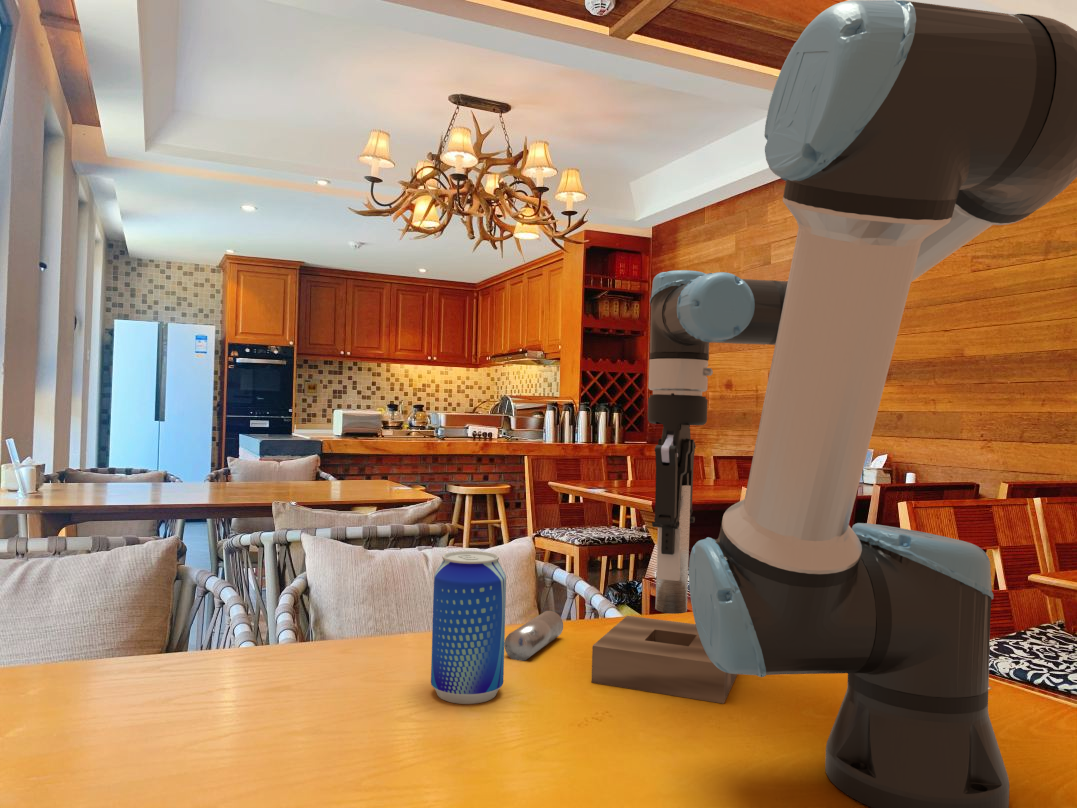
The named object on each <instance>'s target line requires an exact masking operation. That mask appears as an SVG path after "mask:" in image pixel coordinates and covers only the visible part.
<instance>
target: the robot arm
mask: <svg viewBox="0 0 1077 808" xmlns="http://www.w3.org/2000/svg"><path fill="white" fill-rule="evenodd" d="M763 135H764V138H765V140H766V143H765V146H764V154H765V160H766V162H767V165H768V167H769V169H770V170H771V172H772V173H773V174H775V176H777V177H779V178H781V180H783V181H785V185H784V190H783V197H782V203H784V205H785V206H786V208H787V209H788V210H789V212H790V213H791V215H792V216H793V217H794V219H795V220H796V224H797V227H798V228H797V234H796V238H795V239H796V240H795V245H794V249H793V254H792V259H791V264H790V269H789V274H788V279H787V280H770V279H769V280H768V279H767V280H765V279H749V278H741V277H739V276H737V275H736V274H734V273H731V272H730V273H729V272H723V271H721V272H720V271H718V272H713V273H712V272H709V273H705V272H702V271H698V270H689V269H687V270H686V269H685V270H684V269H682V270H680V269H679V270H677V269H676V270H675V269H674V270H669V271H661V272H659V273H658V274H656V275H655V276H654V277H653V280H652V285H651V286H652V287H651V296H650V297H649V304H650V305H649V306H650V329H649V331H650V332H649V333H650V334H649V335H650V336H649V338H650V339H649V360H648V362H649V363H648V364H649V365H648V385H647V389H649V390H650V391H652V394H650V395H649V397H648V398H647V399H648V401H647V403H648V404H647V421H648V422H649V424H654V425H655V424H657V425H663V426H662V427H663V428H662V433H661V434H662V435H661V438H658V441H657V444H656V445H655V447H654V453H655V454H654V455H655V493H654V494H655V501H654V521H652V522H651V526H652V527H653V528H658V527H659V535H658V534H657V540H658V568H657V567H656V573H657V579H665V580H674V581H679V580H680V553H681V528H679V526H680V522H679V518H680V504H681V490H682V484H685V485H690V486H691V493H690V523H695V520H696V516H694V515H693V516H692V514H693V489H694V488H693V486H694V464H695V463H694V461H695V451H696V450H695V449H696V448H697V446H696V443H695V439H692V438H691V428H690V427H691V426H704V425H706V424H707V422H708V401H709V400H708V399H707V396H704V395H703V393H705V392H707V391H708V386H709V385H708V383H709V382H708V381H709V378H708V377H709V376H712V375H713V373H714V371H713V369H712V368H711V367H709V360H710V353H709V352H710V344H712V343H713V344H718V343H719V344H739V345H766V346H767V345H770V346H771V345H772V346H774V350H773V355H772V359H771V364H770V368H769V369H770V370H769V375H768V378H767V384H766V390H765V394H764V401H763V406H762V410H761V415H760V420H759V425H758V431H757V435H756V441H755V444H754V450H753V456H752V460H751V465H750V470H749V476H748V480H747V486H746V491H745V497H744V499H742V500H739V501H738V502H736V503H734V504H732V505H731V506H729V507H728V508H727V509H726V510H725V512H724V513H723V516H722V520H721V525H720V531H719V534H718V538H716V539H715V538H712V537H709V536H708V537H706V538H704V539H700V540H698V541H696V543H695V544H694V545H693V547H692V548H691V552H690V555H689V559H688V586H689V596H690V604H691V609H692V613H693V614H692V615H693V619H694V624H696V628H697V631H698V634H699V637H700V640H701V643H702V646H703V648H704V650H705V652H706V654H707V656H708V657H709V659H710V660H711V662H712V663H713V664H714V665H715V666H716V667H717V668H718V669H720V670H721V671H724V672H726V673H730V674H737V675H746V676H757V677H759V678H765V677H766V676H771V675H774V676H775V675H778V676H779V675H810V674H811V675H815V674H817V675H819V674H820V675H821V674H823V675H825V674H826V675H829V674H830V675H831V674H832V675H833V674H847V687H846V691H845V694H844V696H843V699H842V701H841V705H840V707H839V709H838V713H837V715H836V718H835V721H834V723H833V725H832V727H831V730H830V733H829V736H828V739H827V741H826V746H825V766H824V767H825V773H826V775H827V778H828V779H829V780H830V782H831V783H832V785H834V786H835V787H836V788H838V790H840V791H842V793H844V794H845V795H846V796H849V797H850V798H852V799H853V800H855V801H857V802H859V803H861V804H864V805H866V806H867V807H870V808H1009V806H1010V780H1009V775H1008V772H1007V768H1006V766H1005V763H1004V760H1003V756H1002V753H1001V750H1000V747H999V743H998V741H997V738H996V733H995V732H994V728H993V724H992V722H991V719H990V718H991V717H990V715H989V688H990V687H989V684H990V682H989V681H990V678H989V677H990V644H991V643H990V641H991V638H990V637H991V612H992V611H991V610H992V600H994V593H993V591H992V590H993V588H992V574H991V573H992V572H991V562H990V558H989V556H988V555H987V553H986V552H985V551H984V550H983V549H982V548H981V547H979V546H978V545H976V544H974V543H971V542H969V541H964V540H961V539H958V538H957V539H956V538H951V537H948V536H944V535H938V534H933V533H930V532H923V531H919V530H913V529H908V528H902V527H896V526H889V525H882V524H875V523H867V522H865V523H864V522H857V523H855V524H853V525H852V527H851V525H850V521H851V516H852V512H853V509H854V505H855V501H856V498H857V493H858V489H859V486H860V482H861V477H862V474H863V470H864V466H865V463H866V458H867V454H868V452H869V447H870V443H871V439H872V434H873V431H874V427H875V424H876V420H877V416H878V413H879V412H878V411H879V408H880V406H881V405H880V404H881V401H882V397H883V393H884V389H885V385H886V381H887V378H888V373H889V369H890V365H891V362H892V357H893V355H894V350H895V347H896V342H897V338H898V334H899V330H900V327H901V322H902V319H903V315H904V311H905V306H906V303H907V298H908V295H909V291H910V287H911V284H912V282H914V281H915V280H917V279H918V278H920V276H923V275H924V274H925V273H927V272H928V271H929V270H931V269H932V268H933V267H935V266H937V265H938V264H939V263H941V262H942V261H943V260H945V259H946V258H948V257H949V256H951V255H952V254H953V253H955V252H957V251H958V250H959V249H960V248H962V247H963V246H965V245H966V244H968V243H969V242H971V241H972V240H974V239H975V238H976V237H978V236H979V235H980V234H982V233H983V232H985V231H986V230H987V229H989V228H991V227H992V226H1005V225H1006V226H1007V225H1012V224H1015V223H1018V222H1021V221H1023V220H1024V219H1026V218H1028V217H1029V216H1030V215H1032V214H1033V213H1034V212H1036V211H1037V210H1039V209H1040V208H1042V207H1044V206H1046V204H1048V203H1050V201H1053V200H1054V199H1055V198H1056V197H1057V196H1058V195H1059V194H1061V193H1062V192H1063V191H1064V190H1065V189H1066V188H1068V187H1069V186H1070V185H1071V184H1072V183H1073V181H1075V179H1076V178H1077V30H1076V29H1074V28H1072V26H1069V25H1068V24H1066V23H1064V22H1061V21H1059V20H1057V19H1054V18H1051V17H1046V16H1043V15H1039V14H1029V13H1028V14H1027V13H1017V14H1016V13H1015V14H1013V13H1005V12H1004V13H1003V12H998V11H997V12H996V11H989V10H980V9H975V8H974V9H973V8H965V7H959V6H958V7H956V6H950V5H949V6H948V5H942V4H936V3H934V4H932V3H927V2H920V1H910V0H845V1H840V2H838V3H835V4H832V5H831V6H830V7H828V8H826V9H825V10H823V11H822V12H820V13H819V14H818V15H816V16H815V17H814V19H812V21H810V23H808V25H807V26H806V27H805V29H804V30H803V31H802V32H801V34H800V36H799V37H798V39H797V40H796V42H794V44H793V46H792V47H791V48H790V51H789V53H788V55H787V56H786V59H785V60H784V63H783V65H782V67H781V69H780V72H779V74H778V77H777V79H776V82H775V85H774V87H773V90H772V94H771V97H770V102H769V104H768V108H767V114H766V119H765V125H764V134H763ZM707 376H708V377H707Z"/></svg>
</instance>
